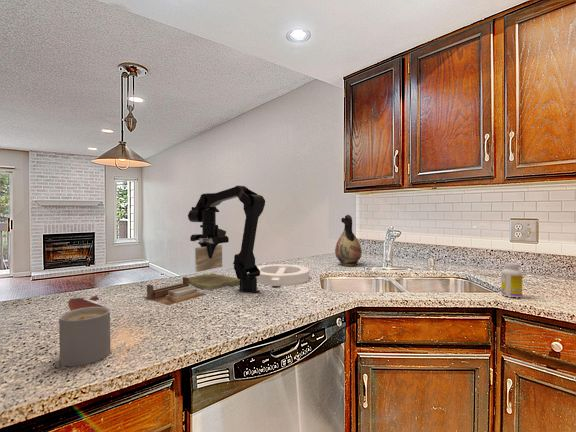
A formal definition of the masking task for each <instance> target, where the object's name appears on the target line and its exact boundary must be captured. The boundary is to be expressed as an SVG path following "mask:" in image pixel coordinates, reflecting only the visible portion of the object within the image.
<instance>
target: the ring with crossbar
mask: <svg viewBox="0 0 576 432" xmlns="http://www.w3.org/2000/svg"><path fill="white" fill-rule="evenodd" d="M256 266H257V265H256ZM257 267H258V269H259V270H260V275H259V276H257V284H260V285H264V284H265V286H270V287H271V286H272V287H280V286H281V287H282V286H283V287H284V286H285V287H286V286H294V285H295V286H297V285H301V284H304V283H305V284H306V283H307V282H308V281H310V268H309V267H307V266H303V265H299V264H285V263H283V264H282V263H279V264H277V263H276V264H275V263H274V264H263V265H258V266H257Z"/></svg>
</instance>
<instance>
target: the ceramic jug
mask: <svg viewBox="0 0 576 432" xmlns="http://www.w3.org/2000/svg"><path fill="white" fill-rule="evenodd" d="M340 220H341V223H342V224H344V229H343V231H342V233H341V234H340V236H339V238H338V240H337V242H336V245H335V249H334V252H335V258H336V259H337V260H338V261H339V263H340V265H341V266H342V267H343V266H345V267H354V266H357V265H358V264H357V263H358V262H359V261H360V259H361V257H362V253H363V252H362V247H361V244H360V242H359V240H358V238H357V237H356V235H355V234H354V233H353V218H352V216H351V215H350V214H346V215H345V216H344V217H342V218H341V219H340Z"/></svg>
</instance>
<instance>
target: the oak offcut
mask: <svg viewBox="0 0 576 432" xmlns="http://www.w3.org/2000/svg"><path fill="white" fill-rule="evenodd" d="M197 296H199V291H197V292H196V293H192V294H189V295H185V296H181V297H173V296H169V295H166V300H169V301H173V302H178V303H181V302H180V301H182V302H184V301H183V300H185V301H188V300H187V299H189V300H191V299H190V298H192V299H195V298H194V297H196V298H198V297H197ZM199 297H200V296H199Z"/></svg>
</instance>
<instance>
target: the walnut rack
mask: <svg viewBox="0 0 576 432" xmlns="http://www.w3.org/2000/svg"><path fill="white" fill-rule="evenodd" d="M187 286H189V287H190V284H189V277H187V276H183V277H182V283H178V284H173V285H169V286H164V287H159V288H154V285H152V284H146V296H143V297H142V299H145V300H149V301H153V302H156V303H159V304H163V305H166V306H171V305H174V304H177V303H181V302H184V301H185V302H186V301H189V300H191V299H195V298H199V297H203V296H206V295H207V293H204V292H199V291H198V292H199V296H197V297H194V298H190V299H187V300H183V301H180V302H173V301H169V300H166V295H168V291H171V290H175V289H179V288H183V287H187Z"/></svg>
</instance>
